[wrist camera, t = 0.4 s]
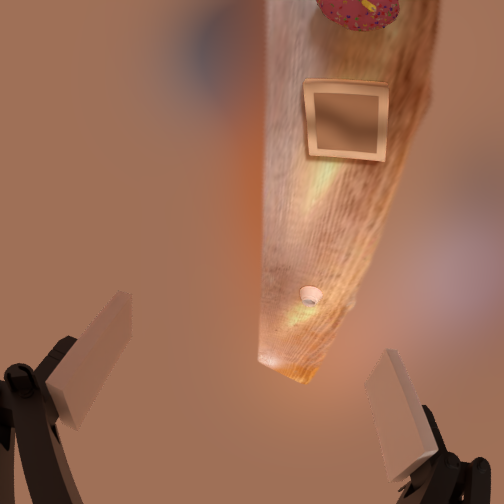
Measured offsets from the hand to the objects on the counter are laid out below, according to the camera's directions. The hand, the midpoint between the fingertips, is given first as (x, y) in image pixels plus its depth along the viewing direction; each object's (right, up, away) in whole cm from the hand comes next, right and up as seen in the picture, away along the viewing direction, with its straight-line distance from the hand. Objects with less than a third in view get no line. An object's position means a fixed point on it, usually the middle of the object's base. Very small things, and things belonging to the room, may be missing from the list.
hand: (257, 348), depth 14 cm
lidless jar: (+13, -4, +50) cm, 51 cm away
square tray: (+12, +22, +20) cm, 32 cm away
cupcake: (+11, +33, +8) cm, 35 cm away
